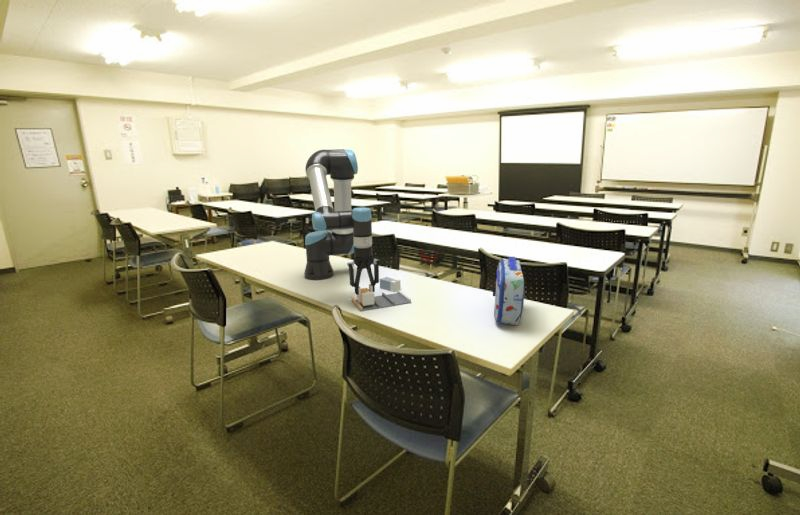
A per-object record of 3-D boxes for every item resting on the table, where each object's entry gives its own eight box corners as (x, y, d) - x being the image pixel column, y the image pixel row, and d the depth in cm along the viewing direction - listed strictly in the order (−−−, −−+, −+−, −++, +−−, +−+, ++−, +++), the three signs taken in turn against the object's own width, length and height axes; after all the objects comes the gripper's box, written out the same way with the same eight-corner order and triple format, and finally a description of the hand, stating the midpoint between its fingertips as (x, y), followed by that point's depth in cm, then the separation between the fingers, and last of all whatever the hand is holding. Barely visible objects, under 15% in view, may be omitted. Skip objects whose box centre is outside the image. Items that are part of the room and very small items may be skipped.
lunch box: (492, 302, 163) (494, 251, 158) (517, 303, 161) (520, 252, 156) (494, 329, 137) (497, 270, 132) (524, 331, 135) (528, 271, 130)
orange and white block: (357, 299, 165) (356, 287, 164) (367, 297, 167) (367, 285, 166) (363, 305, 157) (363, 293, 156) (374, 304, 159) (374, 291, 157)
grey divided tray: (351, 301, 167) (351, 297, 166) (399, 293, 175) (399, 290, 175) (360, 311, 155) (360, 307, 155) (411, 302, 164) (411, 299, 163)
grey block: (379, 288, 183) (379, 277, 182) (386, 285, 187) (386, 275, 185) (393, 292, 177) (393, 281, 176) (400, 289, 181) (400, 278, 179)
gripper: (344, 250, 150) (347, 306, 155) (386, 245, 156) (388, 300, 162) (339, 246, 156) (342, 300, 162) (380, 242, 163) (381, 294, 169)
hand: (365, 300), depth 162 cm, fingers closed on orange and white block, 4 cm apart
